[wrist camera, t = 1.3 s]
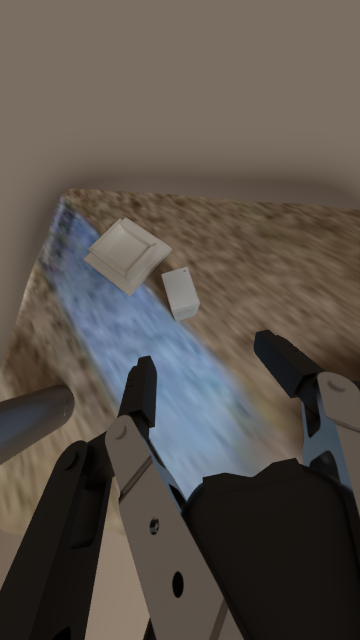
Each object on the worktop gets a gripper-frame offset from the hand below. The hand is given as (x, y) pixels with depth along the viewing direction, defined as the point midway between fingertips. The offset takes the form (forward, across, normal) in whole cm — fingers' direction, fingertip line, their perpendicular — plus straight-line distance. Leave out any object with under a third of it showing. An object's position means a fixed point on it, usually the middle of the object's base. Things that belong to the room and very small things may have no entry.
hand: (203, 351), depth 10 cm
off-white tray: (+37, +12, -5) cm, 39 cm away
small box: (+25, 0, +8) cm, 26 cm away
